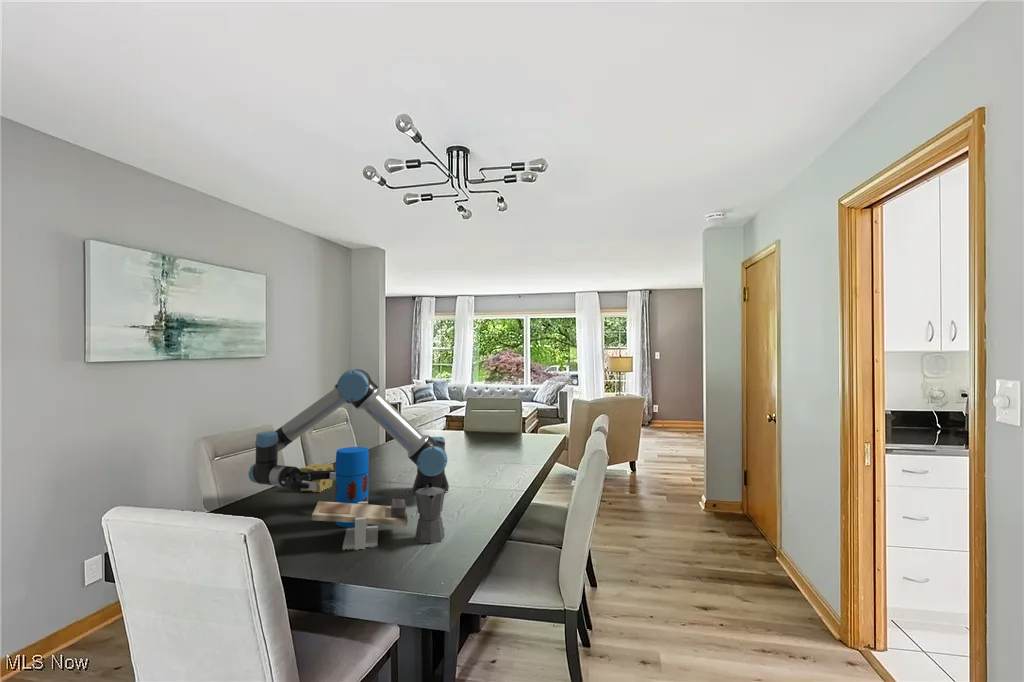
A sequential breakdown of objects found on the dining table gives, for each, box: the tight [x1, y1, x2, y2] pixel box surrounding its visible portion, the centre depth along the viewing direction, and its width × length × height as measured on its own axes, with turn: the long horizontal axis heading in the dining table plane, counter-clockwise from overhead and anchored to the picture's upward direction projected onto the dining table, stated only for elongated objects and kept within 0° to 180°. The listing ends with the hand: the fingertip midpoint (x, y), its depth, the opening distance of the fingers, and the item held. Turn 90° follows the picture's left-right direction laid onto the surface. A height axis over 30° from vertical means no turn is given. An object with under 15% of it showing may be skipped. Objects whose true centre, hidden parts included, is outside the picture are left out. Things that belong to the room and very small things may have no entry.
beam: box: [311, 498, 408, 527], centre depth 157 cm, size 28×14×5 cm, turn 104°
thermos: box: [334, 446, 370, 528], centre depth 172 cm, size 11×11×25 cm
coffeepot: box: [414, 481, 446, 544], centre depth 158 cm, size 15×9×18 cm, turn 13°
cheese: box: [299, 463, 334, 493], centre depth 214 cm, size 10×11×10 cm
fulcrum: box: [342, 500, 379, 551], centre depth 157 cm, size 10×18×9 cm, turn 14°
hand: (331, 482), depth 176 cm, fingers open, 13 cm apart
